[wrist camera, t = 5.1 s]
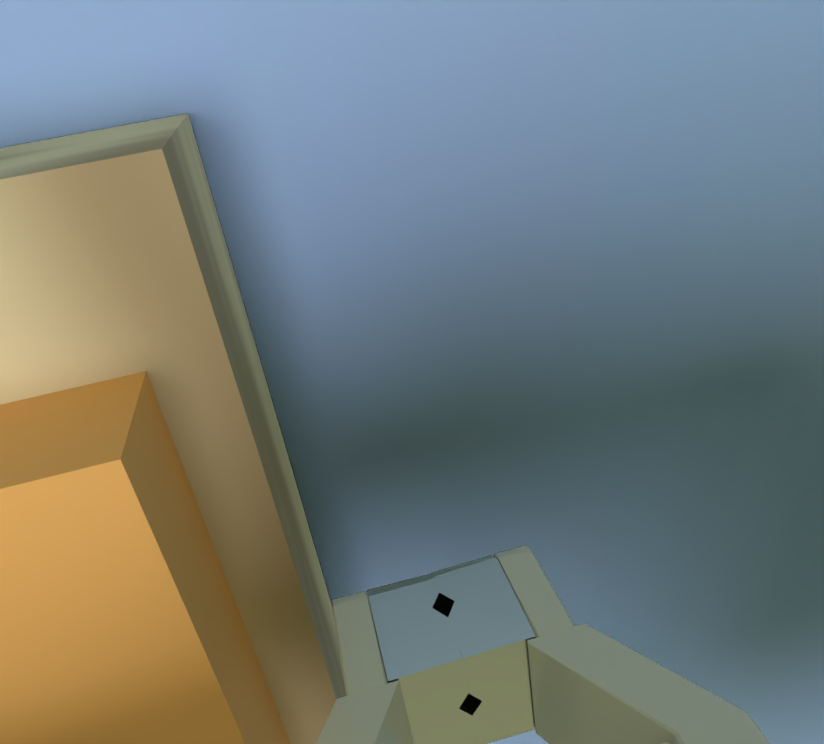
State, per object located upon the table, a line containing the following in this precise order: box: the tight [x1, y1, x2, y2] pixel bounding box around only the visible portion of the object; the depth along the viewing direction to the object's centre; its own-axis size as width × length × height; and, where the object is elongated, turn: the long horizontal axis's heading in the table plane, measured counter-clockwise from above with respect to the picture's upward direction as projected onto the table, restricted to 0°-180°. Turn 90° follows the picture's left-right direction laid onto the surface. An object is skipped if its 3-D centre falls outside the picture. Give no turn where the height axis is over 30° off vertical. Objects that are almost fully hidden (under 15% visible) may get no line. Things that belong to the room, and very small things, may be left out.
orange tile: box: [0, 371, 290, 744], centre depth 9 cm, size 6×9×2 cm, turn 8°
